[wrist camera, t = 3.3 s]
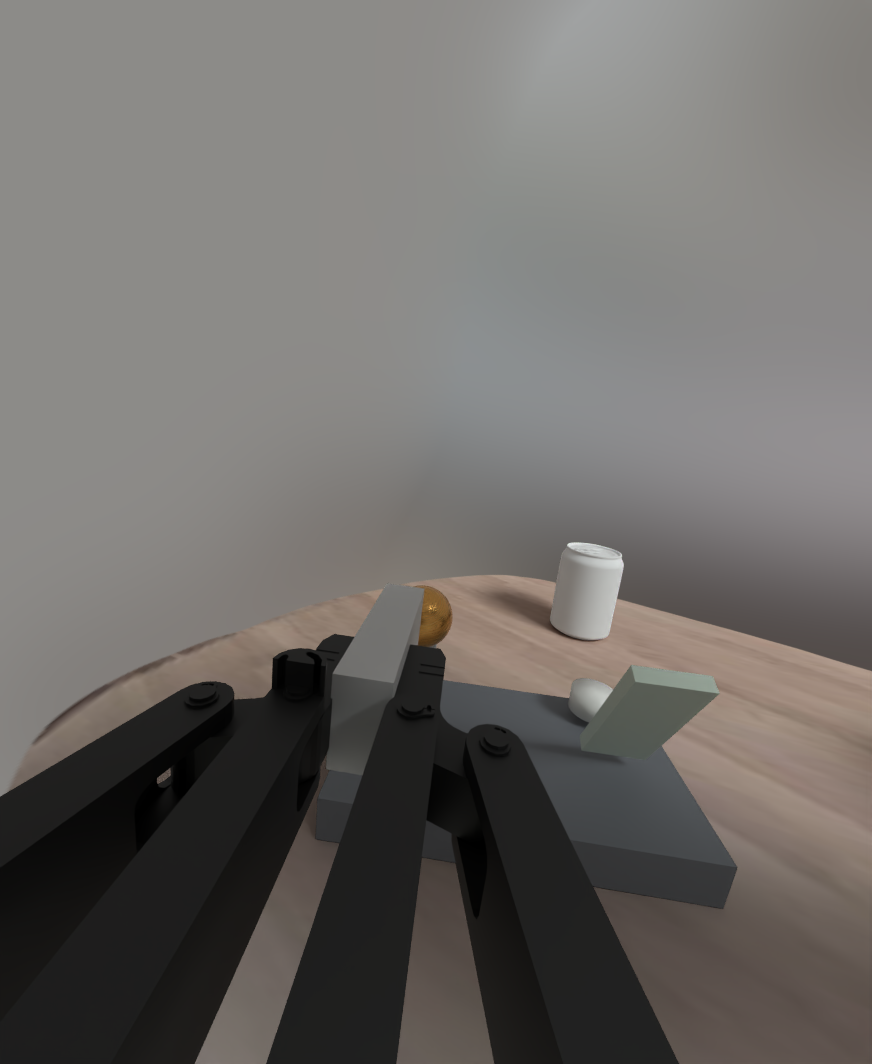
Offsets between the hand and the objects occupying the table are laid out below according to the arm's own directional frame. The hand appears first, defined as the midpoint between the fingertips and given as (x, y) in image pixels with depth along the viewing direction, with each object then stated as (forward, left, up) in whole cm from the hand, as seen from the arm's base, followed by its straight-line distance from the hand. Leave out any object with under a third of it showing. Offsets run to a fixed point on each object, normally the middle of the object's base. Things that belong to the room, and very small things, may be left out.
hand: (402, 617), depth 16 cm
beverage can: (-33, -31, -17) cm, 49 cm away
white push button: (-19, -10, -14) cm, 26 cm away
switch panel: (-11, -8, -17) cm, 22 cm away
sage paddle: (-17, -6, -14) cm, 23 cm away
